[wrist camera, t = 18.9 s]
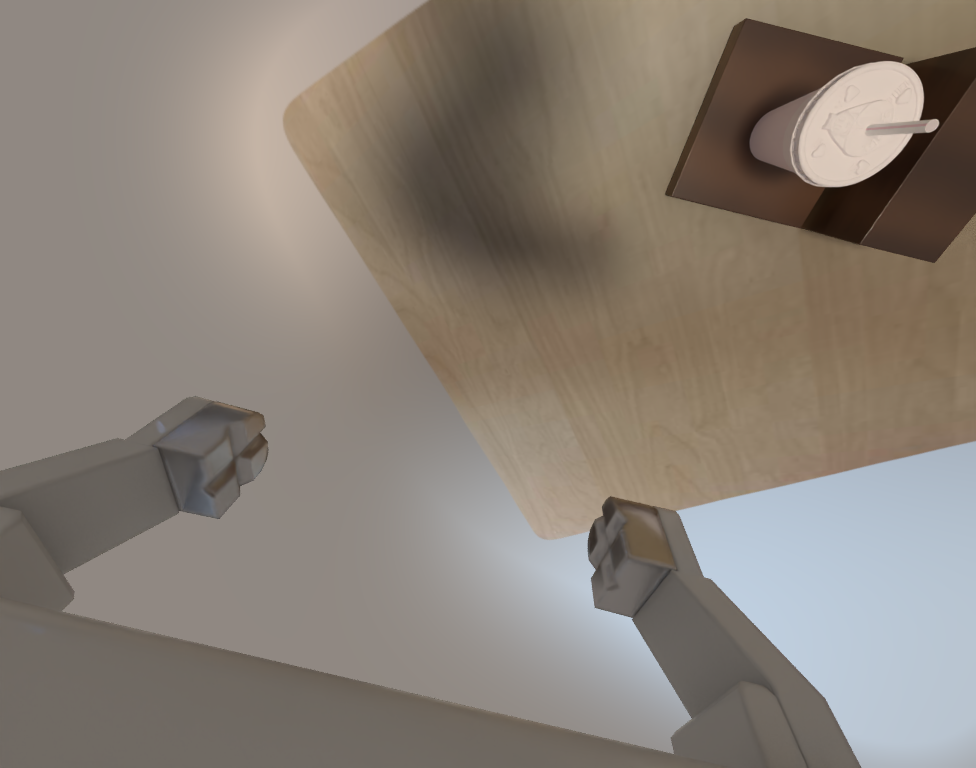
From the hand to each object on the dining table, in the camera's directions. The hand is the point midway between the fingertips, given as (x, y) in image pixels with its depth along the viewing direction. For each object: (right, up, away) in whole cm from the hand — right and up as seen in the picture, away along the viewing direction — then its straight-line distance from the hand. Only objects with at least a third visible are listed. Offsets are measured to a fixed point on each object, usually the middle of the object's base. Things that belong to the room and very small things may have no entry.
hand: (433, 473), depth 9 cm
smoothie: (+25, +22, +22) cm, 40 cm away
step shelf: (+28, +23, +24) cm, 43 cm away
